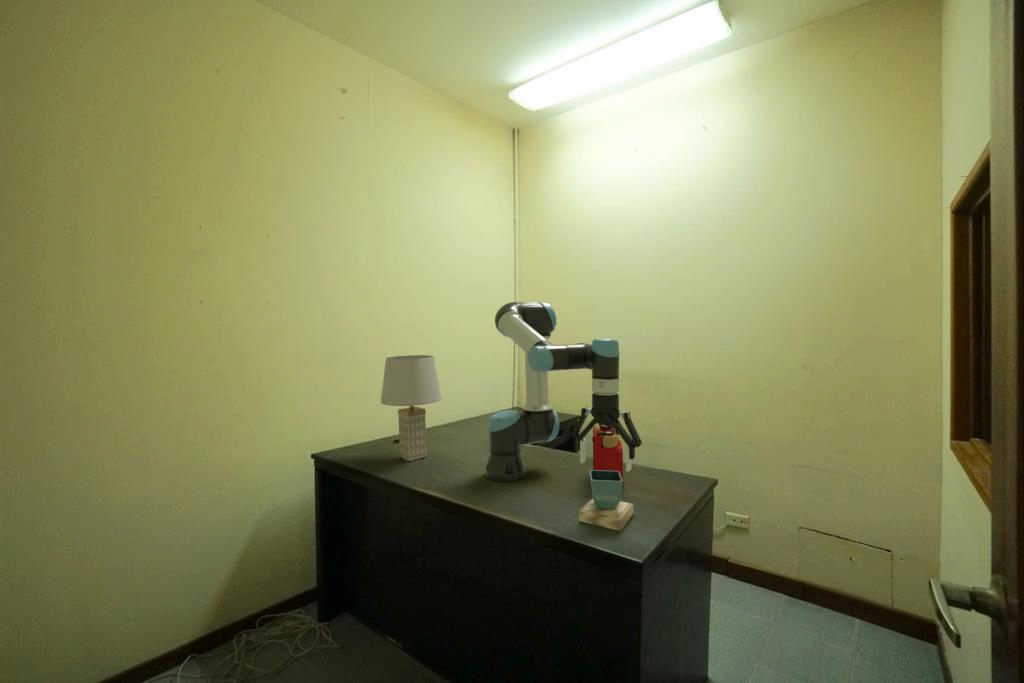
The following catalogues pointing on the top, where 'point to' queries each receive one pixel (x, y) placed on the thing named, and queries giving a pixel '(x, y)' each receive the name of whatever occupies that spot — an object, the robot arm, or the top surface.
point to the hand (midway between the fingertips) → (605, 465)
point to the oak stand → (607, 515)
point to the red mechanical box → (607, 449)
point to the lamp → (411, 398)
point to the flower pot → (606, 488)
